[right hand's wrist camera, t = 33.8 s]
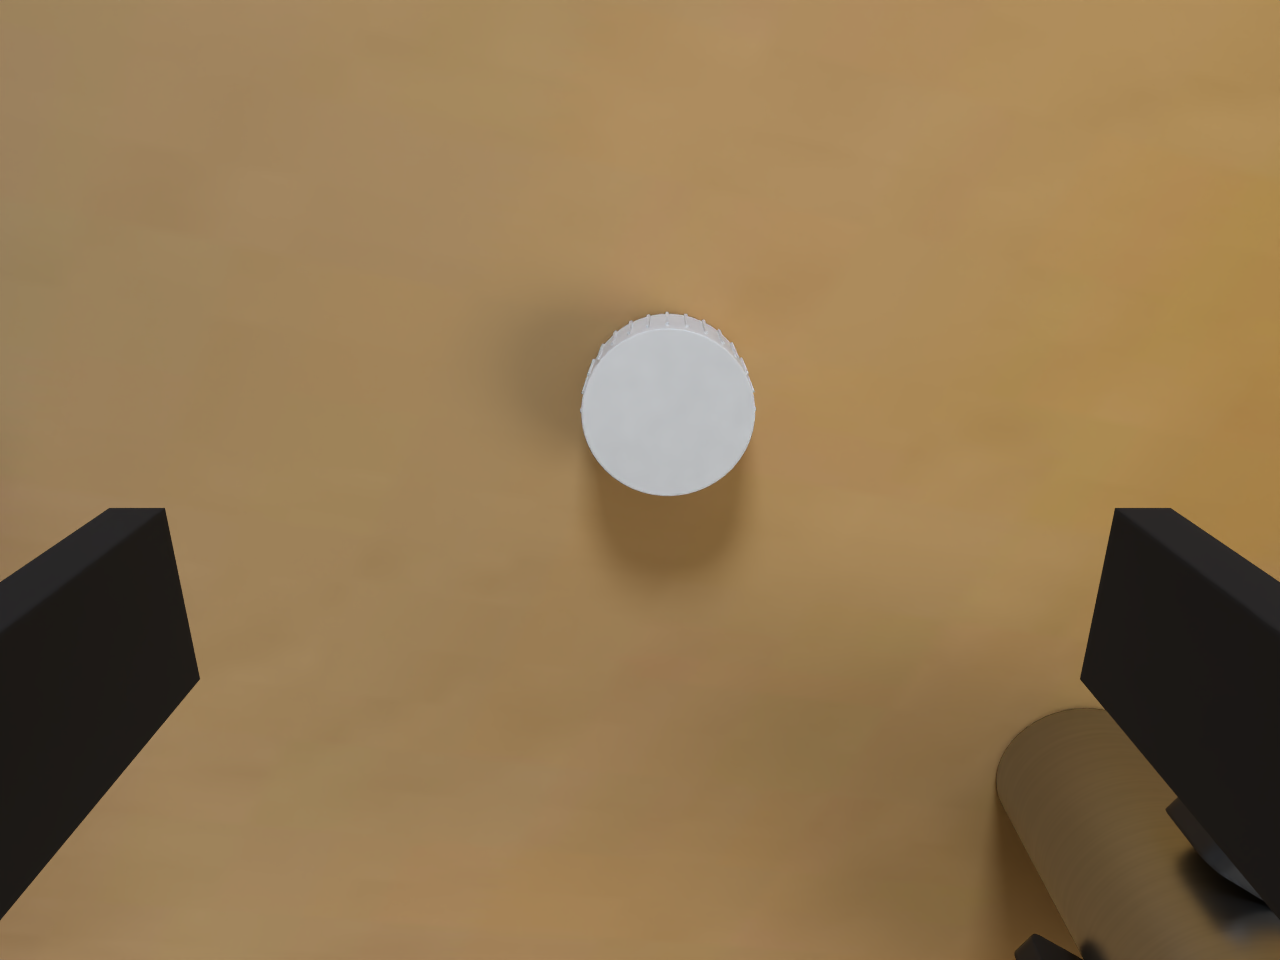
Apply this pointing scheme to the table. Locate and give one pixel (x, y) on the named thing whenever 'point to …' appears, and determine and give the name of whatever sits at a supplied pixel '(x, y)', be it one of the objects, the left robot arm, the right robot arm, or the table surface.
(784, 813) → the table surface
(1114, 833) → the bottle
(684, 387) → the cap
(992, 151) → the table surface
